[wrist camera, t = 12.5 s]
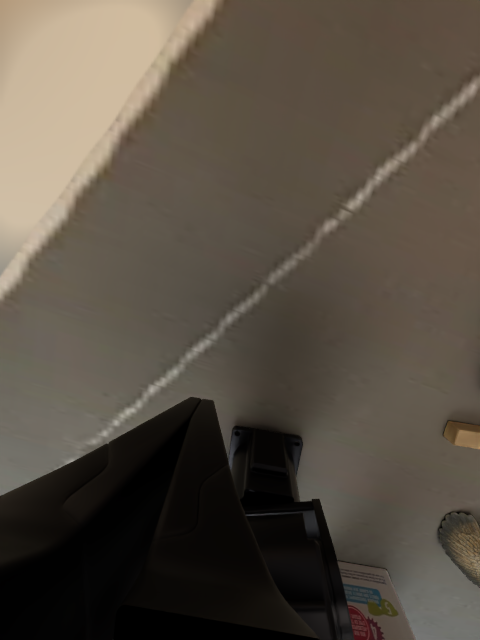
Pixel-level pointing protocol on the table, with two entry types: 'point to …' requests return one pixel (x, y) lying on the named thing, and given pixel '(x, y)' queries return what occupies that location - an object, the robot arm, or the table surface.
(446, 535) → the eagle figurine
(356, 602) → the juice carton
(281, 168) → the table surface
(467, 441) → the maple bay
